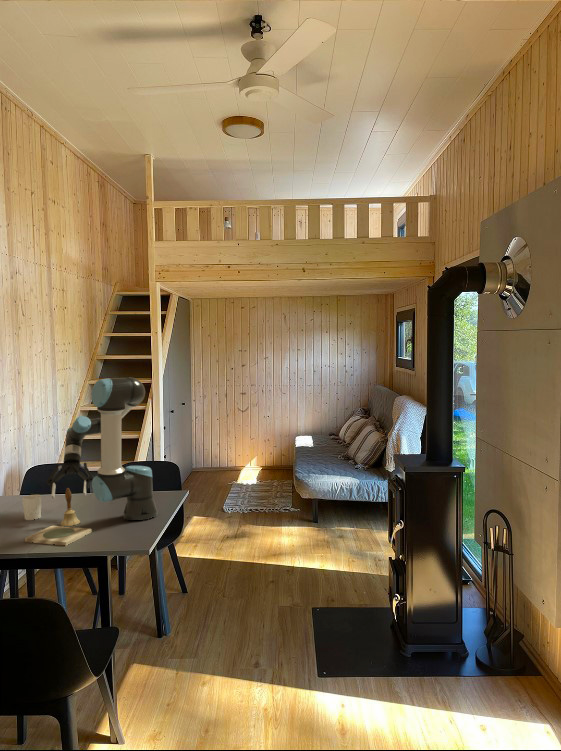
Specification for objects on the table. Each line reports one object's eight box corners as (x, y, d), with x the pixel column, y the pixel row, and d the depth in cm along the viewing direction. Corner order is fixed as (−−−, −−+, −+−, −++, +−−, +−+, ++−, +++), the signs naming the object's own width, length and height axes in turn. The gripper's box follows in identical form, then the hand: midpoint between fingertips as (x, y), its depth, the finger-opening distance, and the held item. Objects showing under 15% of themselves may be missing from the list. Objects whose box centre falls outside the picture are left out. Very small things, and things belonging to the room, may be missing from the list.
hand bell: (61, 527, 237) (59, 491, 236) (59, 522, 244) (57, 487, 243) (81, 524, 240) (79, 489, 240) (78, 519, 248) (77, 485, 247)
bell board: (91, 532, 230) (91, 528, 229) (66, 545, 214) (66, 541, 214) (52, 528, 235) (52, 525, 235) (24, 541, 220) (24, 537, 220)
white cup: (34, 521, 247) (33, 499, 247) (19, 520, 249) (18, 499, 248) (45, 515, 255) (44, 494, 254) (30, 515, 256) (29, 494, 256)
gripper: (100, 459, 265) (98, 497, 251) (46, 462, 260) (41, 502, 246) (98, 450, 260) (96, 489, 246) (43, 453, 254) (37, 493, 241)
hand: (68, 495), depth 246 cm, fingers open, 13 cm apart
